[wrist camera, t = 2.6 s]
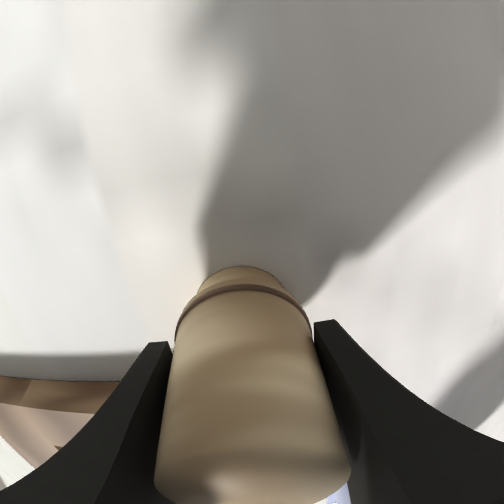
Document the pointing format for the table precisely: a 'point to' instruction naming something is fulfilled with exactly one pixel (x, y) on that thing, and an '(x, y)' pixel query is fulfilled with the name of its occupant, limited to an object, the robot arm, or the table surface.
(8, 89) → the table surface
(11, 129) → the table surface
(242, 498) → the peg
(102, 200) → the table surface
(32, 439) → the board
